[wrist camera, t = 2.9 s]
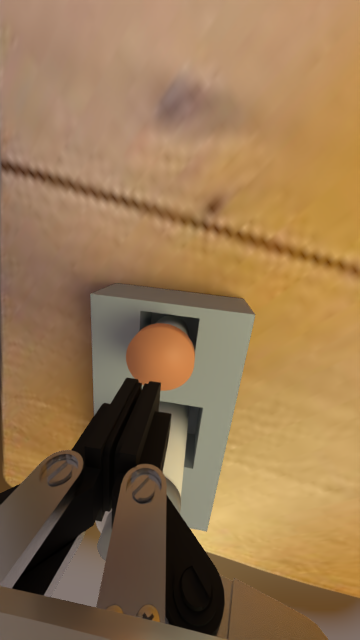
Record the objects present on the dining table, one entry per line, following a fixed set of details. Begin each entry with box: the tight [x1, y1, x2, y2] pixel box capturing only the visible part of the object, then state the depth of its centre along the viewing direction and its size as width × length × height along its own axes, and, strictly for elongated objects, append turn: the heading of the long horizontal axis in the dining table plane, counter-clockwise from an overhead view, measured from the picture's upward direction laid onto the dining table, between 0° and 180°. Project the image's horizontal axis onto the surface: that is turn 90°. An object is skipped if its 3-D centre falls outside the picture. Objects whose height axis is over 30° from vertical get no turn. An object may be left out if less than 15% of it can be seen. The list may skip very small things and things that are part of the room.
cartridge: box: [96, 401, 190, 561], centre depth 18 cm, size 5×5×12 cm
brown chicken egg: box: [126, 315, 195, 391], centre depth 16 cm, size 4×4×5 cm
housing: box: [90, 283, 255, 531], centre depth 22 cm, size 24×12×5 cm, turn 174°
